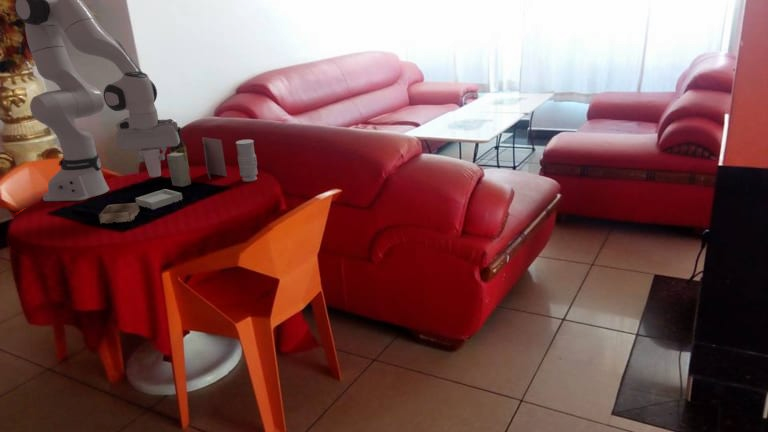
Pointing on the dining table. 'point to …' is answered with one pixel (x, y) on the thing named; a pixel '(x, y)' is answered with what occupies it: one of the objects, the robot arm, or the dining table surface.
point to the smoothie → (152, 161)
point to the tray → (159, 199)
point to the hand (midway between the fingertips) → (152, 160)
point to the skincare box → (178, 169)
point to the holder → (119, 213)
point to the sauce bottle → (179, 146)
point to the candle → (247, 160)
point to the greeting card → (214, 156)
